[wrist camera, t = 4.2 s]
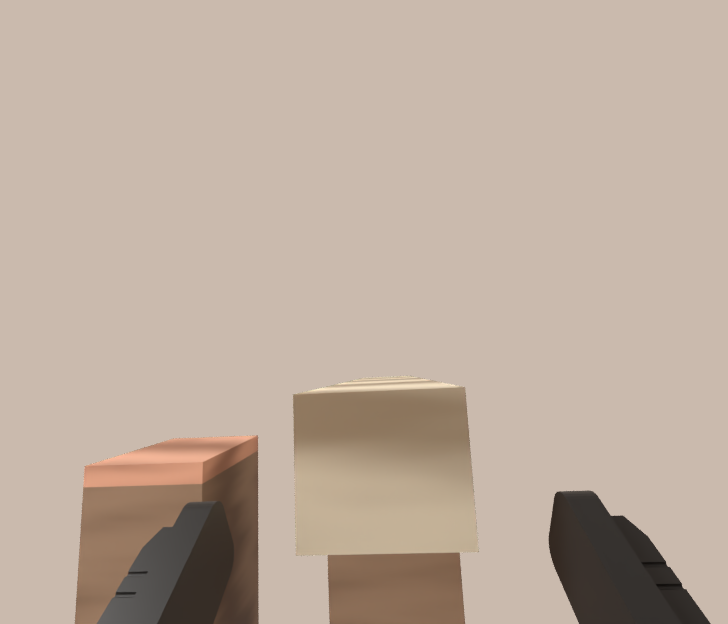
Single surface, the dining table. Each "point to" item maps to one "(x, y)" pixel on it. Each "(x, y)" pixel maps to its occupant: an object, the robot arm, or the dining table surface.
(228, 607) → the walnut rack
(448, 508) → the birch bar
